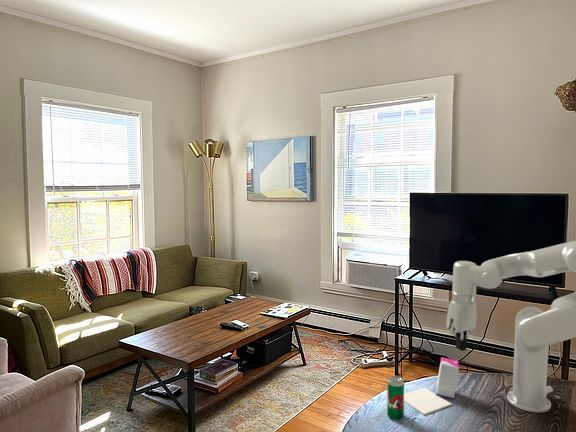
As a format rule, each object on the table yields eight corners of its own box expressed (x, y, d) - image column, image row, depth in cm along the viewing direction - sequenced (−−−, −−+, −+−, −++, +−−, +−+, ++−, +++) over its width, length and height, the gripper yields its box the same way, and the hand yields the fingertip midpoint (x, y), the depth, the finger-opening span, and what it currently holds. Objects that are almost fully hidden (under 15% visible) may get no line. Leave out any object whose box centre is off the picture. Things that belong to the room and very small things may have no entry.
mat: (424, 389, 154) (424, 387, 154) (451, 405, 144) (451, 403, 144) (397, 397, 149) (397, 396, 149) (423, 415, 138) (424, 413, 138)
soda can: (406, 415, 138) (407, 379, 137) (398, 422, 135) (398, 385, 133) (392, 409, 142) (393, 374, 140) (384, 416, 138) (384, 379, 137)
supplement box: (454, 399, 147) (459, 367, 145) (435, 395, 149) (440, 363, 147) (453, 391, 152) (458, 360, 151) (435, 387, 154) (440, 356, 153)
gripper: (469, 291, 157) (467, 341, 160) (439, 297, 151) (436, 349, 153) (488, 297, 151) (484, 349, 153) (456, 304, 144) (454, 357, 146)
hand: (460, 348), depth 153 cm, fingers closed
